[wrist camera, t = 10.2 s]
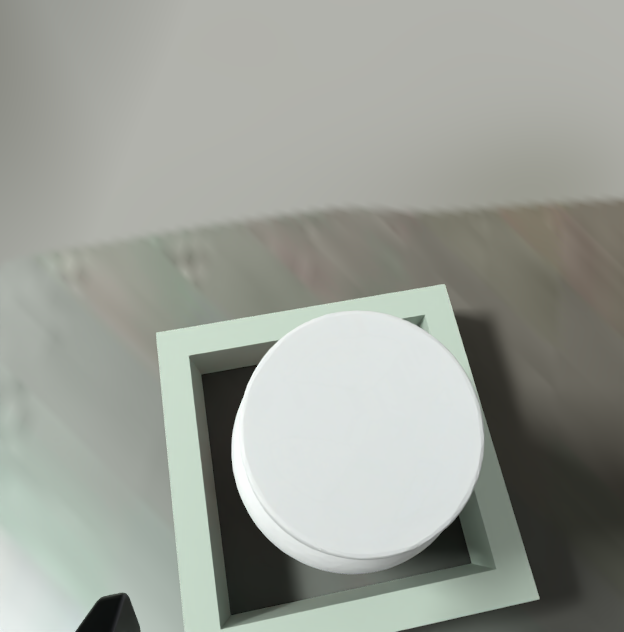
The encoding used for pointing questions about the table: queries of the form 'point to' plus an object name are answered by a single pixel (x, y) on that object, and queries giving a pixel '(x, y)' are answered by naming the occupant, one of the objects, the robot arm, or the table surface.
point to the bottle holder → (351, 605)
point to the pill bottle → (357, 442)
